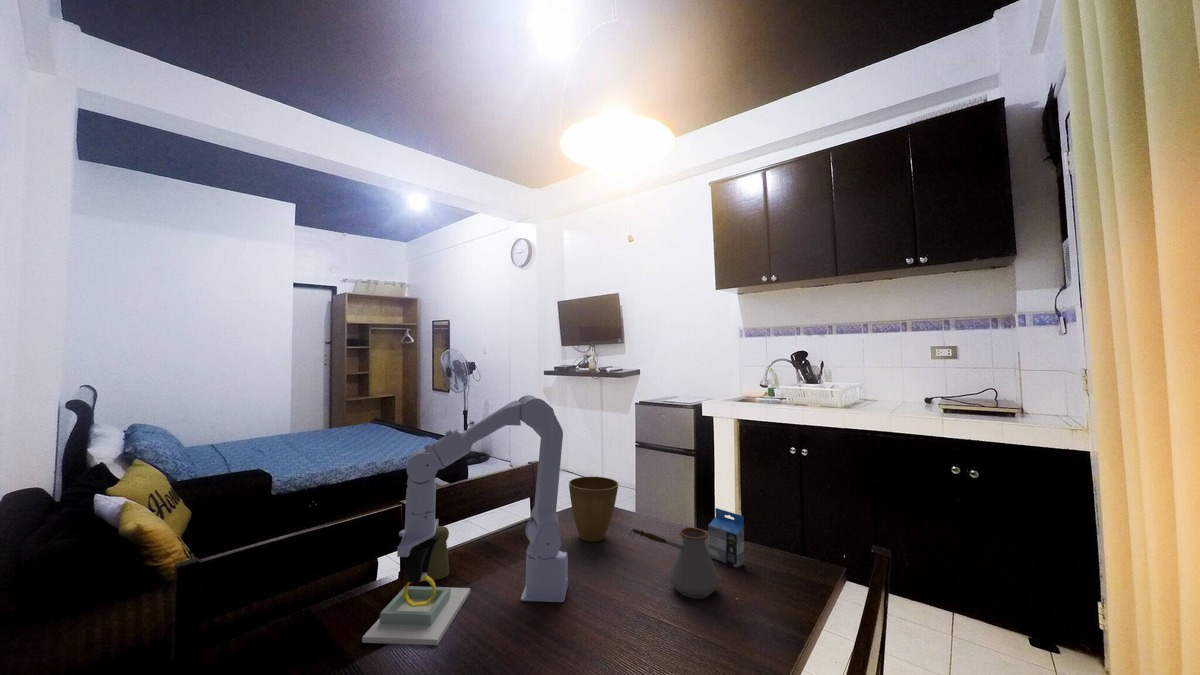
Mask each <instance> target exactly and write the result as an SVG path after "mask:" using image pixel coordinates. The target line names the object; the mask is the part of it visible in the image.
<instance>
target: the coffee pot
mask: <svg viewBox="0 0 1200 675" xmlns="http://www.w3.org/2000/svg"><path fill="white" fill-rule="evenodd" d="M632 532H633V536H631V534H632ZM679 534H680V536H681V538H682V541H681V543H676V542H672V541H670V540H667V539H666V538H663V537H661V536H658V535H656V534H653V533H651V532H650V533H649V532H645V530H639V529H636V528H633V529H631V530H630V532H629V538H630V539H634V538H635V535H640V537H645V538H647V539H649V540H651V541H654V542H658V543H662V544H666V545H668V546H670V547H673V548H676V549H678V551H677V553H676V555H675V557H674V560H673V562H672V564H671V566H670V569H669V572H668V578H669V581H670V583H671V584H672V586H673V587H674V588H675V589H676V590H677V592H678V593H679V594H680V595H683V596H684V597H687V598H689V599H690V598H691V599H697V600H698V599H704V598H707V597H709V596H710V595H711V594H713V593H714V592H715V591H716V590H717V589H718V587H719V584H720V578H719V574H718V572H717V569H716V566H715V565H714V562H713V560H712V559H713V558H711V557H710V554H709V552H708V546H707V545H706V540H707V539H708V532H707V531H706V530H703V529H701V528H697V527H688V526H687V527H684V528H682V529H680V531H679Z"/></svg>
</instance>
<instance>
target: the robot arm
mask: <svg viewBox="0 0 1200 675" xmlns="http://www.w3.org/2000/svg"><path fill="white" fill-rule="evenodd" d="M522 422H523V423H524V424H525V425H527V426H529V427H530V428H531V429H532V430H533V431H534V432H535V433H536V434H537V435H538V436H539V437H540V441H539V442H540V443H539V452H538V454H539V455H538V462H537V463H538V464H537V475H536V484H535V494H534V504H533V505H534V506H533V508H532V510H531V513H530V518H529V521H527V524H526V526H525V530H524V531H525V536H526V538H527V540H528V541H529V543H528V546H527V548H526V558H525V561H526V562H525V564H526V565H525V586H524V589H523V592H522V594H521V597H520V601H522V602H542V603H543V602H546V603H563V602H565V599H566V595H567V590H568V586H569V578H568V577H569V576H568V572H569V571H568V570H569V566H568V565H569V555H568V552H567V551H562V550H560V549H561V546H562V537H561V534H560V531H559V525H560V524H559V517H558V513H557V512H558V511H557V505H558V504H557V503H558V494H559V482H560V473H561V461H562V460H561V459H562V450H563V438H564V430H563V427H562V426H561V424H560V421H559V420H558V417H557V416H556V414H555V410H554V408H553V407H552V406H550V405H549V404H548V403H547V402H546V401H545V400H543V399H542V398H538V397H535V396H533V395H528V394H527V395H524V396H521V397H520V398H519V399H518V400H514V401H511V402H509V403H507V404H506V405H504V406H502V407H501V408H499V409H497V410H496V411H495V412H493V413H491V414H489V415H488V416H487V417H484V418H483V419H482V420H480V421H479V422H477V423H475V424H474V425H471V426H470V427H469V428H468V429H466V430H462V429H455V430H453V431H452V430H451V429H449V430H448V431H445V434H444V435H445V436H443V437H440V438H439V439H438V440H436V441H435V442H432V443H431V444H429V443H427V444H425V445H424V446H423V448H424V449H418V450H416V451H415V452H413V453H411V455H410V456H409V458H408V461H407V463H406V474H407V481H406V485H407V487H406V494H405V514H404V515H405V518H404V519H405V520H404V521H405V522H404V529H402V530H400V531H399V532H398V536H399V537H401V541H400V543H399V545H398V546H397V550H396V552H397V556H396V557H400V559H401V560H402V563H403V565H404V568H405V573H406V576H407V577H406V578H407V581H408V582H410V584H415V583H416V584H417V583H420V582H421V581H420V579H421V575H422V572H425V573H427V572H428V568H429V564H430V560H431V556H432V553H433V550H434V548H435V545H436V543H437V541H438V540H439V535H435V533H436V529H438V526H439V524H440V523H439V518H436V502H437V501H436V498H437V496H436V494H437V485H436V479H435V478H436V475H437V473H438V471H439V470H443V469H445V468H446V467H447V468H448V466H450V465H452V464H454V463H455V462H456V461H458V460H460V459H461V458H463V457H464V456H466V455H468V454H469V453H470V452H471V450H472V446H473V444H475V443H476V442H479V441H480V440H482V439H483V438H485V437H488V436H490V435H491V434H492V433H494V432H495V433H496V431H498V430H500V429H501V428H504V427H506V426H516V427H518V426H522ZM419 581H420V582H419Z"/></svg>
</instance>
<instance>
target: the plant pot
mask: <svg viewBox="0 0 1200 675" xmlns="http://www.w3.org/2000/svg"><path fill="white" fill-rule="evenodd" d="M568 488H569V498H570V503H571V509H572V514H573V518H574V522H575V526H576V529H577V533H578V535H579V539H581V540H583V541H586V542H592V543H593V542H600V541H602V540H604V539H605V537H606V535H607V532H608V528H609V526H610V524H611V521H612V518H613V513H614V510H615V506H616V500H617V496H618V491H619V490H618V489H619V482H618V481H616V480H615V479H612V478H608V477H603V476H581V477H576V478H572V479H571V480H569V481H568Z"/></svg>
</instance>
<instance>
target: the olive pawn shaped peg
mask: <svg viewBox="0 0 1200 675" xmlns="http://www.w3.org/2000/svg"><path fill="white" fill-rule="evenodd" d="M435 535H439V540H438V541H437V543H436V545H435V548H434V550H433V553H432V556H431V560H430V564H429V568H428V572H427V576H429V577H431V578H432V579H433V581H435V580H436V581H437V580H440V579H441V580H442V579H444V578H446V577H448V575H450V566H449V565H450V564H449V563H450V562H449V555H448V545H447V541H448V539H449V535H450V531H449V529H448V527H447V526H443V525H438V529H436V533H435Z"/></svg>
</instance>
